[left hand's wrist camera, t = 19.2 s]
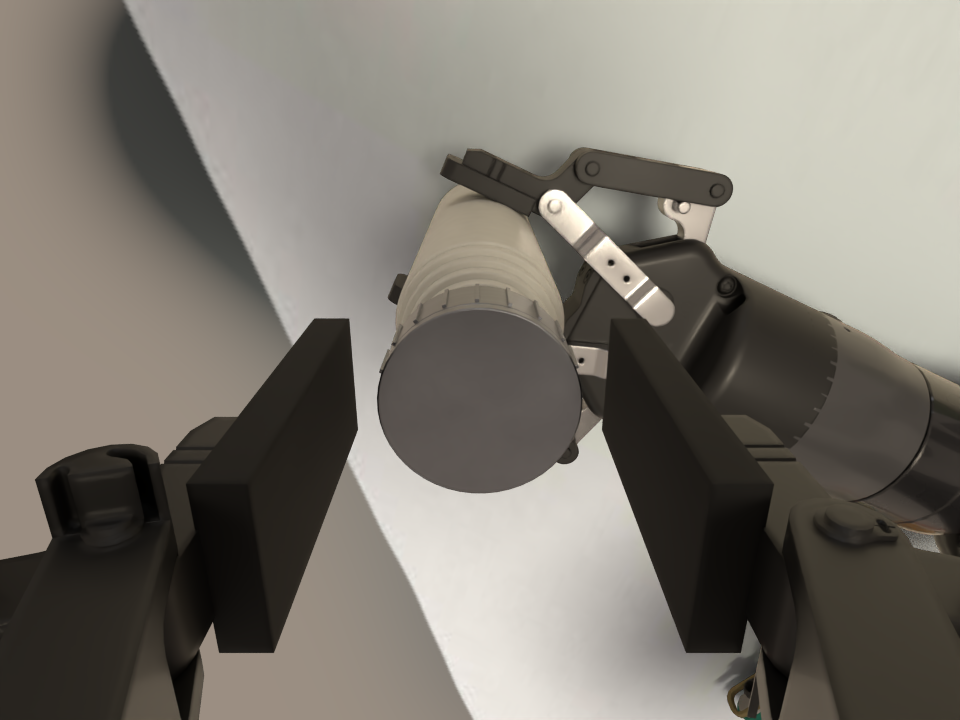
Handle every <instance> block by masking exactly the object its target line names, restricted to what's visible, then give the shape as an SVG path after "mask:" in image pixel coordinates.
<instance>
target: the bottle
mask: <svg viewBox="0 0 960 720" xmlns="http://www.w3.org/2000/svg"><path fill="white" fill-rule="evenodd" d="M475 284H479V286H491V287H498V288H503V289H506V287H508V288H510V290H511V291H513V292H516V293H518V294H520V295H523V296H525V297H526V298H528V299H530V300H532V301H534V300H536V301H538V304H539V306H540V307H541V308H543V309H544V310H545V311H546V312H547V313H548V314H549V315H550V316H551V317H552V318H553V320H554V321H556V320H558V322H559V324H560V327H561V329H562V332H564V310H563V304H562V301H561V297H560V294H559V292H558V289H557V287H556V285H555V282H554V280H553V277H552V275H551V273H550V270H549V268H548V266H547V263H546V261H545V258H544V256H543V254H542V251H541V249H540V246H539V244H538V242H537V239H536V237H535V235H534V232H533V230H532V227H531V225H530V223H529V220H528V218H527V216H526V215H524V214H522V213H519V212H517V211H515V210H513V209H511V208H509V207H507V206H505V205H503V204H500V203H498V202H496V201H494V200H492V199H490V198H487V197H485V196H483V195H481V194H479V193H477V192H475V191H473V190H470V189H468V188H466V187H464V186H462V185H460V184H459V185H457V186H456V187H454V188H453V189H451V190H450V191H449V192H448V193H447V194H446V195H445V196H444V197H443V198H442V200H441V201H440V203H439V205H438V207H437V209H436V211H435V214H434V216H433V218H432V221H431V223H430V225H429V228H428V230H427V233H426V235H425V237H424V240H423V242H422V244H421V247H420V249H419V251H418V254H417V256H416V258H415V261H414V263H413V265H412V268H411V270H410V272H409V275H408V277H407V279H406V282H405V284H404V287H403V289H402V291H401V294H400V297H399V300H398V304H397V310H396V331H397V328H398V326H399V324H402V325H403V323H404V322H405V321H406V319H407V318H408V317H409V316H410V315H411V314H412V313H413V312H414V311H415V310H416V309H417V306H418V304H419V303H422V304H424V303H425V302H426V301H428V300H430V299H432V298H433V297H435V296H437V295H439V294H442V293H444V291H445V290H446V289H449V290H453V289H457V288H461V287H469V286H475Z"/></svg>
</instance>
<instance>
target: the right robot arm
mask: <svg viewBox="0 0 960 720" xmlns="http://www.w3.org/2000/svg"><path fill="white" fill-rule="evenodd" d="M440 174H441V175H442V176H444V177H445V178H447V179H449V180H451V181H453V182H455V183H458V184H460V185H462V186H464V187H466V188H468V189H470V190H473V191H475V192H477V193H479V194H481V195H483V196H485V197H487V198H490V199H492V200H494V201H496V202H498V203H500V204H503V205H505V206H507V207H509V208H511V209H513V210H515V211H517V212H519V213H522V214H524V215H526V216H528V217H529V215H530V213H531V212H534V213H536V214H538V215H540V216H542V217H543V218H544V219H545V220H546V221H547V222H548V223H549V224H550V225H551V226H552V227H553V228H554V229H555V230H556V231H557V232H558V233H559V234H560V235H561V236H562V237H563V238H564V239H565V240H566V241H567V242H568V243H569V244H570V245H571V246H572V247H573V248H574V249H575V250H576V251H577V252H578V253H579V254H580V255H581V256H582V257H583V258H584V260H585V261H584V263H583V265H582V267H581V269H580V271H579V273H578V275H577V279H576V283H575V288H574V292H573V294H572V295H571V296H570V297H569V298H568V299H567V300H566V301H565V302H564V304H563V310H564V332H563V335H564V337H565V339H566V342H567V345H568V346H569V345H571V347H572V350H573V352H574V355H575V358H576V360H577V363H578V366H579V368H578V369H577V372H578V375H579V378H580V383H581V387H582V393H583V399H582V400H583V402H582V413H581V418H580V422H579V426H578V428H577V431H576V434H575V436H574V438H573V440H572V442H571V444H570V445H569V447H568V448H567V450H566V451H565V453H564V454H563V455H562V457H561V458H560V459H559V460H558V461H557V463H560V464H569V463H571V462H573V461H574V460H575V459H576V458H577V456H578V454H579V450H578V446H577V443H578V442H579V441H580V440H581V439H582V438H583V437H584V436H585V435H586V434H587V433H588V432H589V431H590V430H591V429H592V428H593V427H594V426H595V425H596V424H597V423H598V422H599V421H600V420H601V419H603V411H604V399H605V386H606V374H607V361H608V348H609V336H610V323H611V319H646V320H647V321H648V322H649V324H650V325H651V326H652V327H653V329H654V330H655V331H656V333H657V334H658V335H659V336H660V338H661V339H662V340H663V342H664V343H665V344H666V345H667V347H668V348H669V349H670V351H671V352H672V353H673V354H674V356H675V357H676V358H677V360H678V361H679V362H680V363H681V365H682V366H683V367H684V369H685V370H686V371H687V372H688V374H689V375H690V376H691V378H692V379H693V380H694V381H695V383H696V384H697V385H698V387H699V388H700V389H701V390H702V392H703V393H704V394H705V396H706V397H707V398H708V399H709V401H710V402H711V403H712V405H713V406H714V407H715V408H716V410H717V411H718V412H719V413H720V415H747V416H749V417H750V418H752V419H754V420H756V421H757V422H759V423H761V424H763V425H764V426H766V427H768V428H770V429H771V431H772V432H773V433H774V434H775V435H776V436H777V437H778V438H779V439H780V441H781V442H782V443H783V444H784V448H788V449H789V451H790V452H791V453H792V454H793V455H794V456H795V457H796V461H797V462H800V463H801V464H802V465H803V466H804V467H805V468H806V470H807V471H808V472H809V473H810V474H811V475H812V476H813V477H814V478H815V480H816V481H817V482H818V483H819V484H820V485H821V486H822V487H823V488H824V490H825V491H826V492H827V493H828V494H829V495H830V496H831V497H832V498H833V499H839V500H844V501H848V502H852V503H856V504H859V505H862V506H864V507H867V508H869V509H871V510H874V511H876V512H879V513H880V514H882V515H883V516H885V517H886V518H888V519H889V520H891V521H892V522H894V523H895V524H897V525H898V526H899V528H902V529H905V530H908V531H912V532H916V533H920V534H926V535H934V539H935V543H936V545H937V547H938V549H939V552H940V553H941V554H946V555H952V556H957V557H960V385H958V384H956V383H953V382H951V381H949V380H947V379H945V378H943V377H941V376H939V375H937V374H935V373H932V372H930V371H928V370H926V369H924V368H922V367H920V366H918V365H916V364H914V363H911V362H909V361H907V360H906V359H904V358H902V357H900V356H898V355H897V354H895V353H894V352H892V351H891V350H890V349H888V348H887V347H886V346H884V345H883V344H881V343H880V342H878V341H876V340H875V339H873V338H872V337H870V336H868V335H867V334H865V333H863V332H861V331H859V330H857V329H855V328H853V327H851V326H848V325H846V324H844V323H842V321H841V320H839V319H837V317H835V316H833V315H831V314H828V313H825V312H821V311H817V310H815V309H813V308H811V307H809V306H807V305H805V304H802V303H800V302H798V301H796V300H794V299H792V298H790V297H788V296H786V295H784V294H782V293H780V292H777V291H775V290H773V289H771V288H769V287H767V286H765V285H763V284H761V283H759V282H757V281H755V280H753V279H751V278H748V277H746V276H744V275H742V274H740V273H738V272H736V271H734V270H732V269H730V268H728V267H726V266H724V265H722V264H721V263H720V262H719V261H718V259H717V258H716V256H715V254H714V253H713V251H712V250H711V248H710V247H709V246H708V245H707V244H705V243H706V240H707V236H708V233H709V230H710V226H711V223H712V220H713V216H714V213H715V210H716V207H719V206H722V205H723V204H725V203H726V202H727V201H728V200H729V199H730V197H731V195H732V192H733V185H732V182H731V180H730V179H729V178H728V177H727V176H725V175H723V174H719V173H715V172H712V171H708V170H705V169H701V168H696V167H690V166H685V165H679V164H674V163H668V162H663V161H657V160H652V159H646V158H641V157H635V156H629V155H624V154H618V153H613V152H607V151H602V150H596V149H591V148H584V147H583V148H578V149H576V150H575V151H573V152H572V154H571V155H570V157H569V159H568V160H567V161H566V162H565V163H564V164H563V165H562V166H561V167H560V168H559V169H558V170H557V171H556V172H555V173H553V174H551V175H549V176H544V177H542V176H537V175H534V174H532V173H530V172H528V171H526V170H524V169H522V168H520V167H517V166H515V165H513V164H511V163H509V162H507V161H505V160H503V159H501V158H499V157H497V156H494V155H493V154H490V153H488V152H486V151H484V150H482V149H467V151H466V154H465V156H464V158H463V160H462V159H460V158H458V157H456V156H453V155H451V154H448V156H447V158H446V160H445V163H444V165H443V167H442V170H441V172H440ZM593 186H597V187H602V188H608V189H614V190H619V191H625V192H631V193H636V194H642V195H648V196H653V197H658V202H657V204H658V209H659V211H660V212H661V213H662V214H663V215H665V216H667V217H668V218H670V219H672V220H674V221H675V222H676V224H677V227H678V233H677V235H672V236H667V237H662V238H657V239H651V240H646V241H641V242H636V243H631V244H626V245H621V246H617V245H616V244H615V243H614V242H613V241H612V240H611V239H610V238H609V237H608V236H607V235H606V234H605V233H604V232H603V231H602V230H601V229H600V228H599V227H598V226H597V225H596V224H595V223H594V222H593V221H592V220H591V219H590V218H589V217H588V216H587V215H586V214H585V213H584V212H583V211H582V210H581V209H580V208H579V207H578V206H577V205H576V203H577V202H578V201H579V200H580V199H581V198H582V197H583V196H584V195H585V194H586V193H587V192H588V191H589V190H590V189H591V188H592V187H593ZM407 277H408V276H407V275H404V274H398V275H397V277H396V279H395V281H394V283H393V286H392V288H391V291H390V293H389V295H388V299H389V300H390V301H391V302H393V303H394V304H396V305H397V304H398V300H399V297H400V294H401V291H402V289H403V287H404V284H405V282H406V279H407Z"/></svg>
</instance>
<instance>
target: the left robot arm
mask: <svg viewBox="0 0 960 720" xmlns="http://www.w3.org/2000/svg"><path fill="white" fill-rule="evenodd" d="M357 431H358V424H357V412H356V399H355V386H354V374H353V361H352V348H351V336H350V323H349V319H314V320H313V321H312V322H311V324H310V325H309V326H308V327H307V329H306V330H305V331H304V333H303V334H302V335H301V336H300V338H299V339H298V340H297V342H296V343H295V344H294V345H293V347H292V348H291V349H290V351H289V352H288V353H287V354H286V356H285V357H284V358H283V360H282V361H281V362H280V363H279V365H278V366H277V367H276V369H275V370H274V371H273V372H272V374H271V375H270V376H269V378H268V379H267V380H266V381H265V383H264V384H263V385H262V387H261V388H260V389H259V390H258V392H257V393H256V394H255V395H254V397H253V398H252V399H251V401H250V402H249V403H248V404H247V406H246V407H245V408H244V410H243V411H242V412H241V413H240V415H239V416H238V417H214V418H212V419H210V420H209V421H207V422H205V423H203V424H202V425H200V426H198V427H196V428H195V429H193V430H191V431H190V432H189V433H188V434H187V435H186V437H185V438H184V439H183V440H182V441H181V442H180V443H179V444H178V446H177V447H176V450H173V451H172V452H171V453H170V454H169V456H168V457H167V458H166V459H165V460H164V464H161V465H160V462H159V457H158V453H157V452H155V451H154V450H152V449H151V448H149V447H146V446H141V445H135V444H118V445H108V446H103V447H98V448H93V449H88V450H85V451H82V452H80V453H77V454H74V455H71V456H68V457H65V458H64V459H62V460H60V461H58V462H57V463H55V464H53V465H51V466H50V467H48V468H46V469H45V470H44V471H43V472H42V473H41V474H40V475H39V476H38V477H37V478H36V479H35V481H36V485H37V488H38V491H39V495H40V498H41V501H42V505H43V508H44V511H45V515H46V518H47V521H48V525H49V528H50V532H51V535H52V540H51V542H50V544H49V546H48V548H47V550H46V551H43V552H39V553H34V554H29V555H24V556H18V557H14V558H8V559H3V560H0V720H199V713H200V705H201V696H202V688H203V680H204V671H203V665H202V659H201V655H200V650H199V647H200V646H201V644H202V642H203V640H204V638H205V636H206V634H207V632H208V630H209V628H210V626H211V624H212V622H213V624H214V629H215V634H216V639H217V644H218V649H219V653H274V651H275V649H276V646H277V643H278V641H279V638H280V635H281V633H282V630H283V627H284V625H285V622H286V619H287V617H288V614H289V611H290V609H291V606H292V603H293V601H294V598H295V595H296V593H297V590H298V587H299V585H300V582H301V579H302V577H303V574H304V571H305V569H306V566H307V564H308V561H309V558H310V556H311V553H312V550H313V548H314V545H315V542H316V540H317V537H318V534H319V532H320V529H321V526H322V524H323V521H324V518H325V516H326V513H327V510H328V508H329V505H330V502H331V500H332V497H333V495H334V492H335V489H336V486H337V484H338V481H339V479H340V476H341V473H342V471H343V468H344V465H345V463H346V460H347V457H348V455H349V452H350V449H351V447H352V444H353V441H354V439H355V436H356V434H357ZM602 431H603V434H604V436H605V439H606V442H607V444H608V447H609V449H610V452H611V455H612V457H613V460H614V463H615V465H616V468H617V471H618V473H619V476H620V479H621V481H622V484H623V487H624V489H625V492H626V495H627V497H628V500H629V503H630V505H631V508H632V511H633V513H634V516H635V518H636V521H637V524H638V526H639V529H640V532H641V534H642V537H643V540H644V542H645V545H646V548H647V550H648V553H649V556H650V558H651V561H652V564H653V566H654V569H655V572H656V574H657V577H658V580H659V582H660V585H661V588H662V590H663V593H664V595H665V598H666V601H667V603H668V606H669V609H670V611H671V614H672V617H673V619H674V622H675V625H676V627H677V630H678V633H679V635H680V638H681V641H682V643H683V646H684V649H685V651H686V653H741V649H742V644H743V639H744V634H745V629H746V624H747V619H748V621H749V623H750V625H751V627H752V629H753V631H754V633H755V634H756V636H757V638H758V640H759V642H760V644H761V650H760V655H759V659H758V664H757V669H756V674H755V678H754V683H753V688H752V692H751V697H750V702H749V708H748V714H747V717H750V718H754V719H756V716H757V712H758V707H759V705H760V711H761V719H762V720H960V557H957V556H952V555H946V554H941V553H936V552H931V551H925V550H921V549H917V548H913V547H912V545H911V543H910V541H909V539H908V537H907V536H906V535H905V534H904V532H903V531H902V530H901V529H900V528H899V526H898V525H897V524H895V523H894V522H892V521H891V520H889V519H888V518H886V517H885V516H883V515H882V514H880V513H879V512H876V511H874V510H871V509H869V508H867V507H864V506H862V505H859V504H856V503H852V502H848V501H844V500H839V499H833V498H832V497H831V496H830V495H829V494H828V493H827V492H826V491H825V490H824V488H823V487H822V486H821V485H820V484H819V483H818V482H817V481H816V480H815V478H814V477H813V476H812V475H811V474H810V473H809V472H808V471H807V470H806V468H805V467H804V466H803V465H802V464H801V463H800V462H797V461H796V457H795V456H794V455H793V454H792V453H791V452H790V451H789V449H788V448H784V444H783V443H782V442H781V441H780V439H779V438H778V437H777V436H776V435H775V434H774V433H773V432H772V431H771V429H770V428H768V427H766V426H764V425H763V424H761V423H759V422H757V421H756V420H754V419H752V418H750V417H749V416H747V415H720V413H719V412H718V411H717V410H716V408H715V407H714V406H713V405H712V403H711V402H710V401H709V399H708V398H707V397H706V396H705V394H704V393H703V392H702V390H701V389H700V388H699V387H698V385H697V384H696V383H695V381H694V380H693V379H692V378H691V376H690V375H689V374H688V372H687V371H686V370H685V369H684V367H683V366H682V365H681V363H680V362H679V361H678V360H677V358H676V357H675V356H674V354H673V353H672V352H671V351H670V349H669V348H668V347H667V345H666V344H665V343H664V342H663V340H662V339H661V338H660V336H659V335H658V334H657V333H656V331H655V330H654V329H653V327H652V326H651V325H650V324H649V322H648V321H647V320H646V319H611V323H610V336H609V348H608V361H607V374H606V386H605V399H604V411H603V424H602Z"/></svg>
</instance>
